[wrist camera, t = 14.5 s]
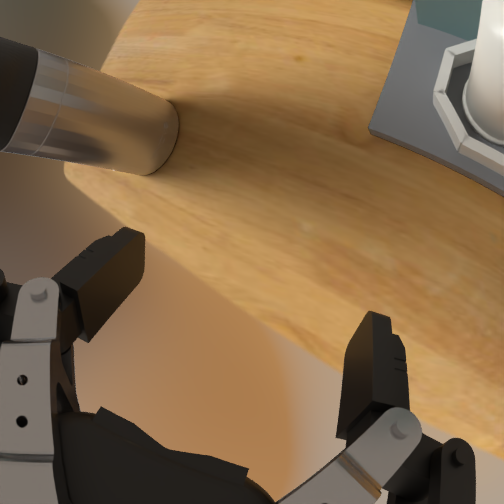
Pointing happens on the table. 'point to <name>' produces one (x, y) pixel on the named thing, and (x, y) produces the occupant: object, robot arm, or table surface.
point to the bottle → (487, 76)
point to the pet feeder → (437, 92)
